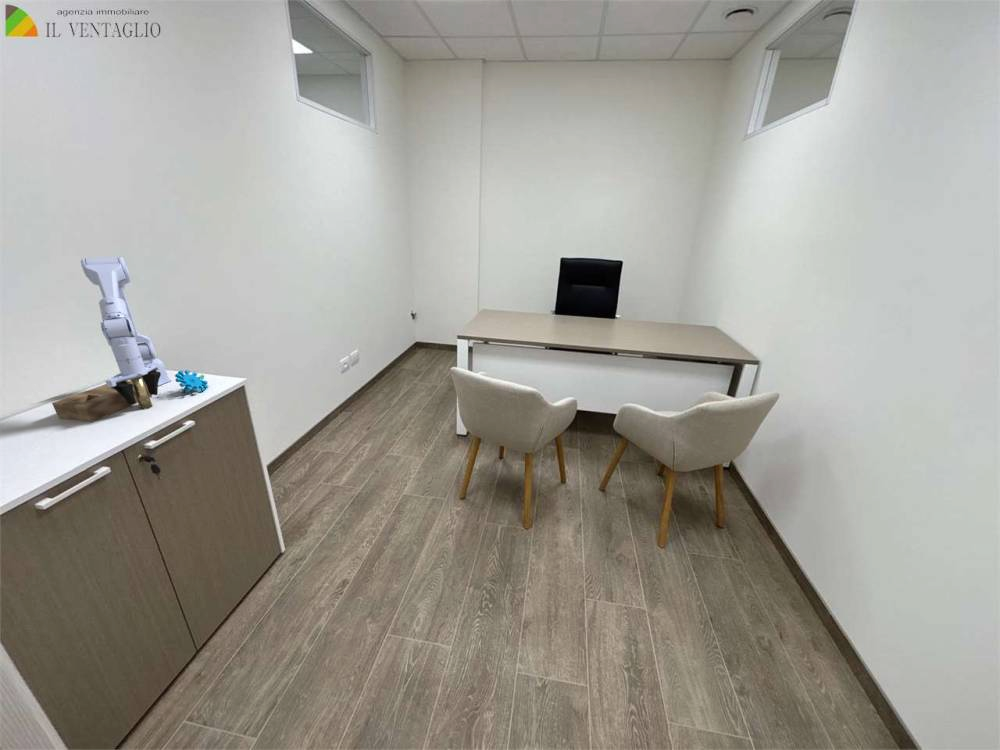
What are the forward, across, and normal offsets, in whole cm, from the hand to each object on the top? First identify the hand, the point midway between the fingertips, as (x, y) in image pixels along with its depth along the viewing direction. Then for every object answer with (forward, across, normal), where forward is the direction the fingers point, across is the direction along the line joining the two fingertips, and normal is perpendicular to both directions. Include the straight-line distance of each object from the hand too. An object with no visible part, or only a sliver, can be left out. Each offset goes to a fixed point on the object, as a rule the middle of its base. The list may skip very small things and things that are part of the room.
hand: (143, 398), depth 123 cm
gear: (+3, +14, -4) cm, 15 cm away
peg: (+3, 0, 0) cm, 3 cm away
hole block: (+3, -2, +12) cm, 13 cm away
